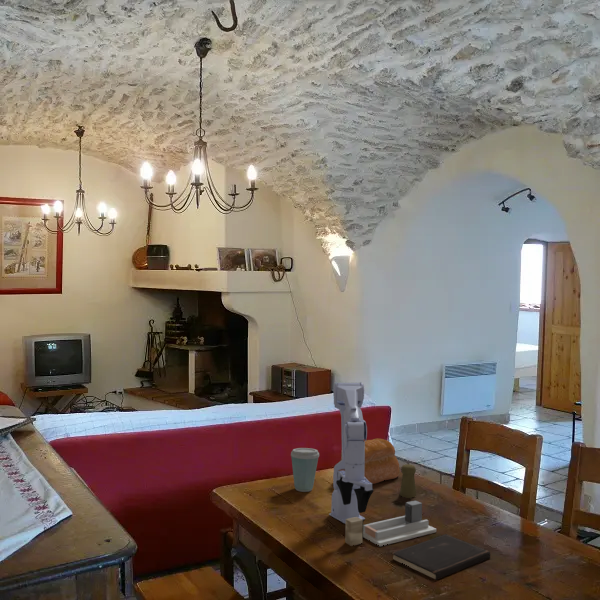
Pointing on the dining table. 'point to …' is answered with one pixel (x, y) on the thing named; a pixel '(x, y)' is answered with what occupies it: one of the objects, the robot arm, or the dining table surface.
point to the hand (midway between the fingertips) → (354, 508)
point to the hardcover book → (441, 556)
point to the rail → (399, 526)
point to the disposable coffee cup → (304, 468)
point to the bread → (379, 461)
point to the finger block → (354, 531)
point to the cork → (408, 481)
